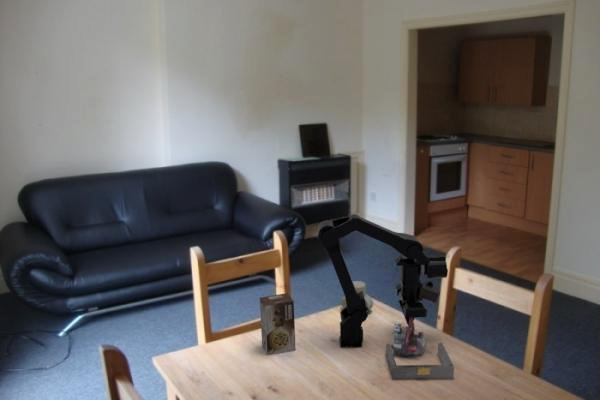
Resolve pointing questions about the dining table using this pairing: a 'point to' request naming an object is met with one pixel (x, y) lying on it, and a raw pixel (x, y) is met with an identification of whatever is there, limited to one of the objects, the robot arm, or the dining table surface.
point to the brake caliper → (408, 340)
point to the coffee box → (277, 323)
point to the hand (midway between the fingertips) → (409, 325)
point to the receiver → (421, 367)
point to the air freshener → (359, 287)
